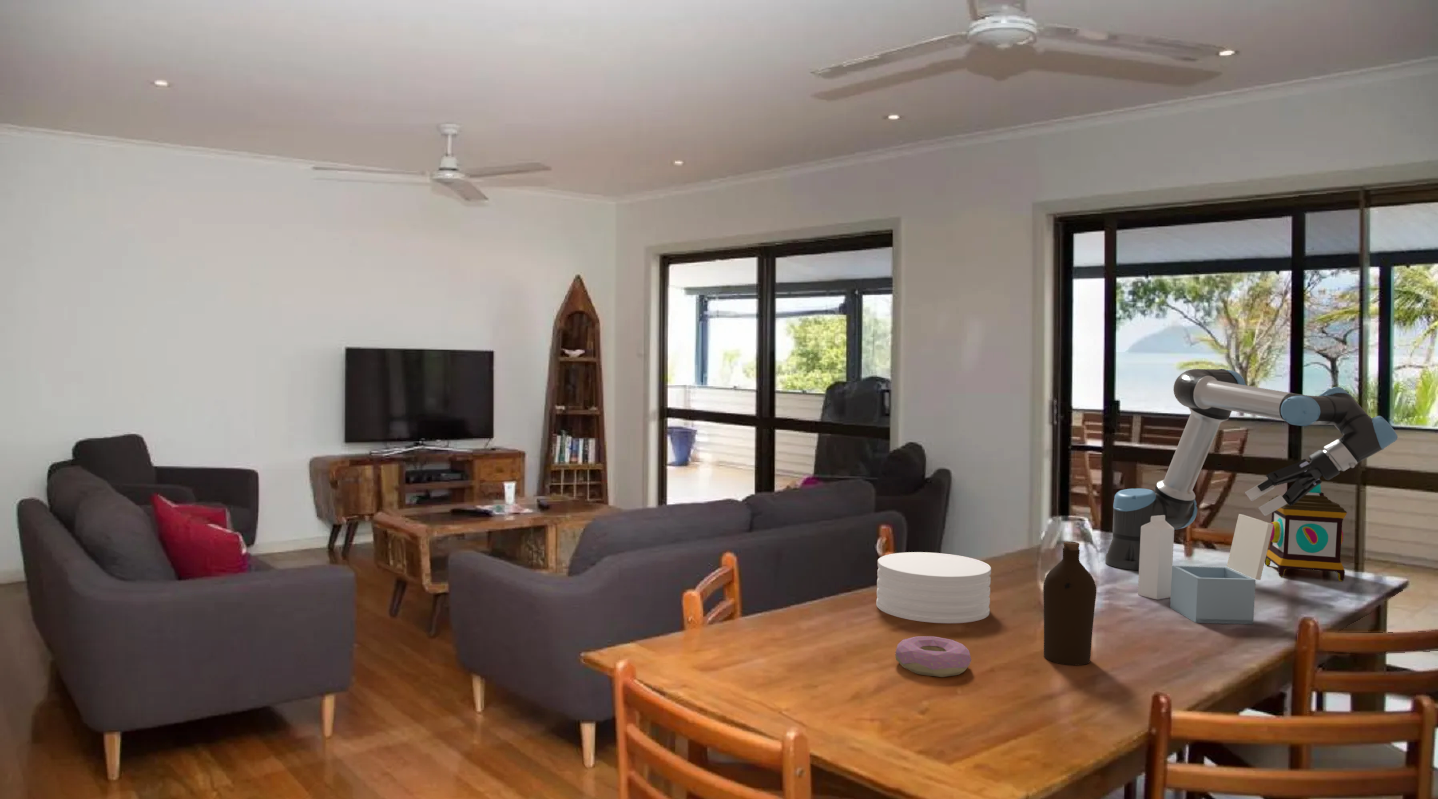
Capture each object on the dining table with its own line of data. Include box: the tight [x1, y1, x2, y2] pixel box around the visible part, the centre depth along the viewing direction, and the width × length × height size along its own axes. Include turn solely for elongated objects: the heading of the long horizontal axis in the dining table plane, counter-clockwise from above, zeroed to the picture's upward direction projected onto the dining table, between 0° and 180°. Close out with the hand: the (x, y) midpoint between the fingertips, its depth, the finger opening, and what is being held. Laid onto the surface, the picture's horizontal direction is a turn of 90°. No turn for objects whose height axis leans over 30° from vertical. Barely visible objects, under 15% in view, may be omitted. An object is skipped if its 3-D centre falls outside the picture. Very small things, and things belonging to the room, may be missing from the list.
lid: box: [1226, 513, 1273, 581], centre depth 247 cm, size 14×14×1 cm
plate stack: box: [876, 551, 992, 624], centre depth 250 cm, size 28×28×12 cm
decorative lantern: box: [1264, 484, 1348, 582], centre depth 299 cm, size 20×20×30 cm
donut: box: [894, 635, 972, 678], centre depth 203 cm, size 16×15×5 cm
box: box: [1169, 565, 1257, 625], centre depth 248 cm, size 14×14×11 cm
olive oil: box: [1042, 540, 1097, 666], centre depth 210 cm, size 11×11×25 cm
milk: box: [1137, 515, 1175, 600], centre depth 267 cm, size 6×6×22 cm
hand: (1254, 504), depth 262 cm, fingers open, 13 cm apart
